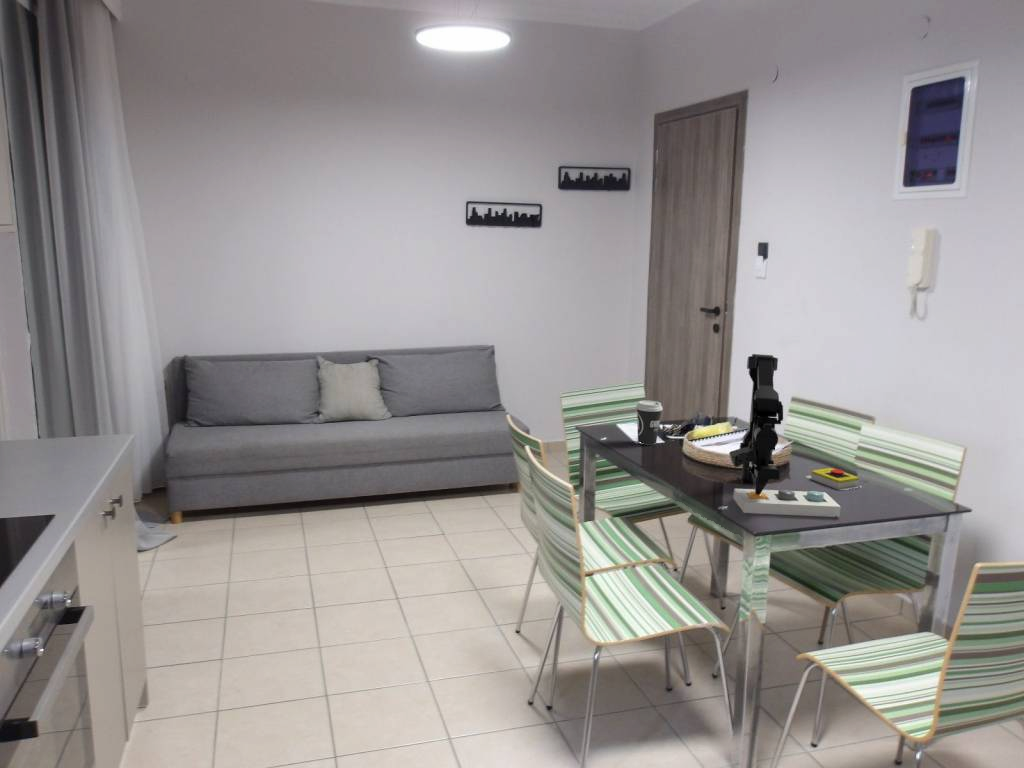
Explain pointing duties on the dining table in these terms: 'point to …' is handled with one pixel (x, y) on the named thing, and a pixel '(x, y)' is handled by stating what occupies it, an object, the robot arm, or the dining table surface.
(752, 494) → the orange button
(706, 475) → the dining table surface
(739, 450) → the robot arm
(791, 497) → the charcoal button
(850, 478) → the emergency button
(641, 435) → the coffee cup
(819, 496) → the teal button
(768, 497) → the button panel
